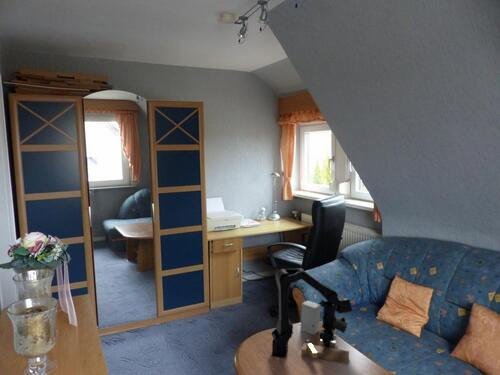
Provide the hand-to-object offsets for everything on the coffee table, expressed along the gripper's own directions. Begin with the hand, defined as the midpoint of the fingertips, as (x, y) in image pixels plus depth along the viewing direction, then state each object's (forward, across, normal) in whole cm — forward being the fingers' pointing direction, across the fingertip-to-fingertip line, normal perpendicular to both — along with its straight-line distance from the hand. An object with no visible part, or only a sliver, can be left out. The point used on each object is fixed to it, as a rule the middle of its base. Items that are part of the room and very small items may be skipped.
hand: (328, 344), depth 177 cm
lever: (-2, -11, +6) cm, 13 cm away
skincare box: (+2, +14, +11) cm, 18 cm away
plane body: (+1, -8, 0) cm, 8 cm away
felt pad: (+1, 0, 0) cm, 1 cm away
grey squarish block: (0, 0, 0) cm, 1 cm away
